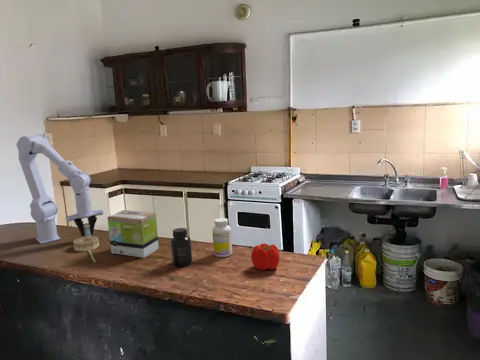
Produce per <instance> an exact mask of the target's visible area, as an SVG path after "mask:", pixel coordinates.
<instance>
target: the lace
mask: <svg viewBox="0 0 480 360" xmlns="http://www.w3.org/2000/svg"><path fill="white" fill-rule="evenodd" d="M87 252H88V253H89V256H90V258H91V260H92V262H93V263H96V262H97V261H96V259H95V257H94V254H92V250H88V251H87Z"/></svg>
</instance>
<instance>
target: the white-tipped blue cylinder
mask: <svg viewBox="0 0 480 360" xmlns="http://www.w3.org/2000/svg"><path fill="white" fill-rule="evenodd" d="M83 230H84V237H86V236H92V235H91V230H90V223H88V222H86V223H83Z"/></svg>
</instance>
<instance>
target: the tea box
mask: <svg viewBox="0 0 480 360" xmlns="http://www.w3.org/2000/svg"><path fill="white" fill-rule="evenodd" d="M107 227H108V235H109V236H108V237H109V243H110V251H111V254H112V255H113V254H116V255H123V256H128V257H129V256H130V257H134V258H136V257H137V258H143V259H144V258H146V257H148V256H150V255H151V254H153V253H154V252H156V251H157V250H159V247H160V246H159V236H158V222H157V212H152V211H141V210H140V211H139V210H130V209H129V210H127V209H123V210H121V211H118V212H117V213H114V214H111V215H109V216H107Z"/></svg>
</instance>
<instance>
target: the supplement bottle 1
mask: <svg viewBox="0 0 480 360" xmlns="http://www.w3.org/2000/svg"><path fill="white" fill-rule="evenodd" d="M170 249H171V260H172V265H173V266H174V267H176V268H177V267H178V268H182V267H188V266H190V265H192V263H193V250H192V240H191V237H190V236H188V229H187V228H186V227H179V228H174V229H173V230H172V238H171V239H170Z"/></svg>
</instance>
